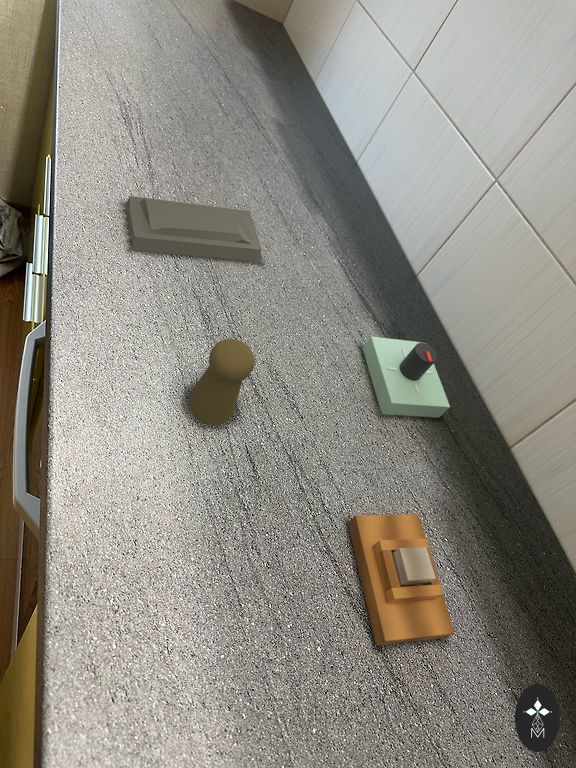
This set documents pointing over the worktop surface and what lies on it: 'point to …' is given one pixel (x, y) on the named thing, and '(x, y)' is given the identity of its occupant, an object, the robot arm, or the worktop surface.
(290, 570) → the worktop surface
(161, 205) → the grey bevelled block
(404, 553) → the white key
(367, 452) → the worktop surface
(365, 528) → the light switch
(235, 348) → the brown pawn
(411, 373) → the volume knob
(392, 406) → the volume panel
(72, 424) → the worktop surface
